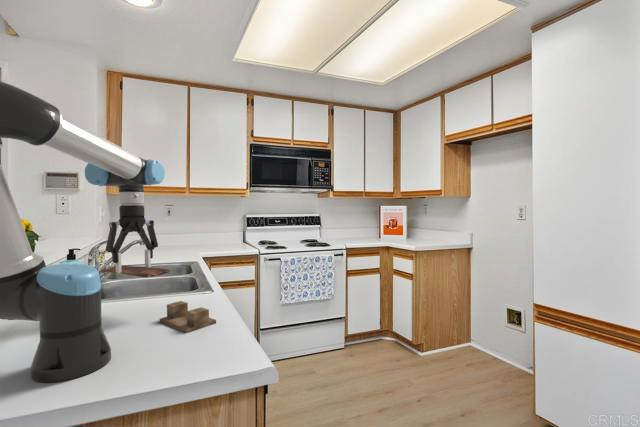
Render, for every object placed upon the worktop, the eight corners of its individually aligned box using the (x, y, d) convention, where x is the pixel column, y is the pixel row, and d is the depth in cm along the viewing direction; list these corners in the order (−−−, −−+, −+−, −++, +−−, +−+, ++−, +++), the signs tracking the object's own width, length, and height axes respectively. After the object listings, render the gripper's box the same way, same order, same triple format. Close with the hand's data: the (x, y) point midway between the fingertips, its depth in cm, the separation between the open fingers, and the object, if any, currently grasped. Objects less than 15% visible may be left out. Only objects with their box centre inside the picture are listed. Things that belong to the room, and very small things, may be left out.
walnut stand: (186, 333, 99) (186, 316, 99) (159, 321, 109) (159, 306, 108) (216, 323, 107) (215, 307, 106) (188, 313, 116) (187, 299, 116)
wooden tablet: (96, 267, 118) (124, 259, 127) (97, 273, 118) (125, 265, 127) (144, 274, 106) (172, 265, 114) (145, 281, 106) (172, 272, 115)
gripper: (100, 205, 105) (102, 277, 106) (168, 204, 122) (169, 266, 123) (91, 205, 110) (93, 274, 110) (157, 204, 127) (159, 264, 127)
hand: (133, 270), depth 116 cm, fingers closed on wooden tablet, 9 cm apart
